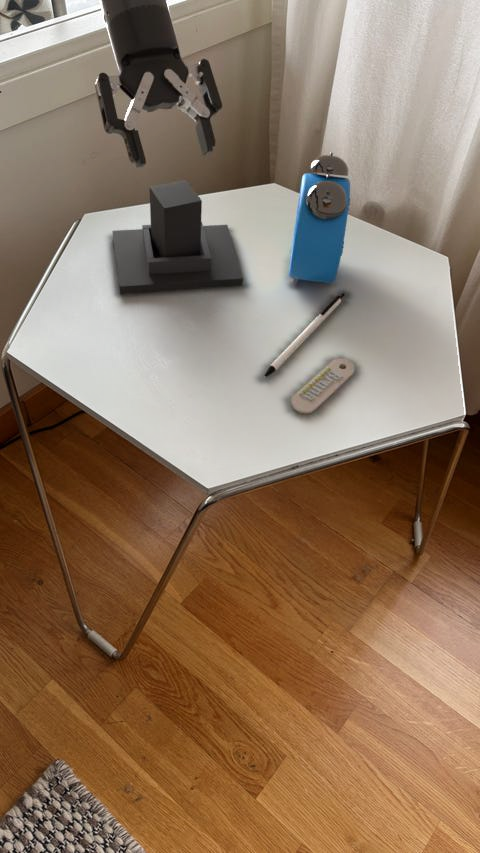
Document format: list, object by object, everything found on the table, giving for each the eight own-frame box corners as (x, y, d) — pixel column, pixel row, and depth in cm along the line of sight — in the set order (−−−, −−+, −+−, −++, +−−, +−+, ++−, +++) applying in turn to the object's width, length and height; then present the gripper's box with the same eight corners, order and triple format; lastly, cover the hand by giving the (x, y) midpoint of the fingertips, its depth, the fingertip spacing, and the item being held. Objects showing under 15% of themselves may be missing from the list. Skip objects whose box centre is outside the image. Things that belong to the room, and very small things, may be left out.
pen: (346, 298, 93) (347, 291, 92) (267, 381, 83) (268, 374, 82) (340, 295, 93) (341, 288, 93) (260, 378, 83) (261, 371, 82)
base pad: (119, 294, 90) (118, 274, 88) (113, 237, 98) (111, 218, 95) (242, 285, 93) (244, 266, 91) (226, 231, 101) (228, 212, 98)
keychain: (339, 352, 85) (359, 365, 84) (338, 356, 86) (358, 368, 84) (286, 400, 80) (307, 414, 79) (285, 403, 80) (307, 417, 79)
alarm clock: (292, 240, 100) (307, 139, 89) (336, 245, 100) (356, 145, 89) (285, 299, 92) (300, 197, 80) (332, 305, 92) (354, 203, 80)
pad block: (165, 268, 92) (164, 208, 86) (151, 246, 95) (149, 186, 88) (200, 260, 94) (202, 200, 87) (185, 239, 97) (186, 179, 90)
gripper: (82, 8, 76) (125, 160, 79) (203, -5, 81) (240, 139, 83) (73, 40, 83) (112, 179, 86) (185, 26, 88) (219, 159, 90)
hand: (175, 159), depth 84 cm, fingers open, 8 cm apart
